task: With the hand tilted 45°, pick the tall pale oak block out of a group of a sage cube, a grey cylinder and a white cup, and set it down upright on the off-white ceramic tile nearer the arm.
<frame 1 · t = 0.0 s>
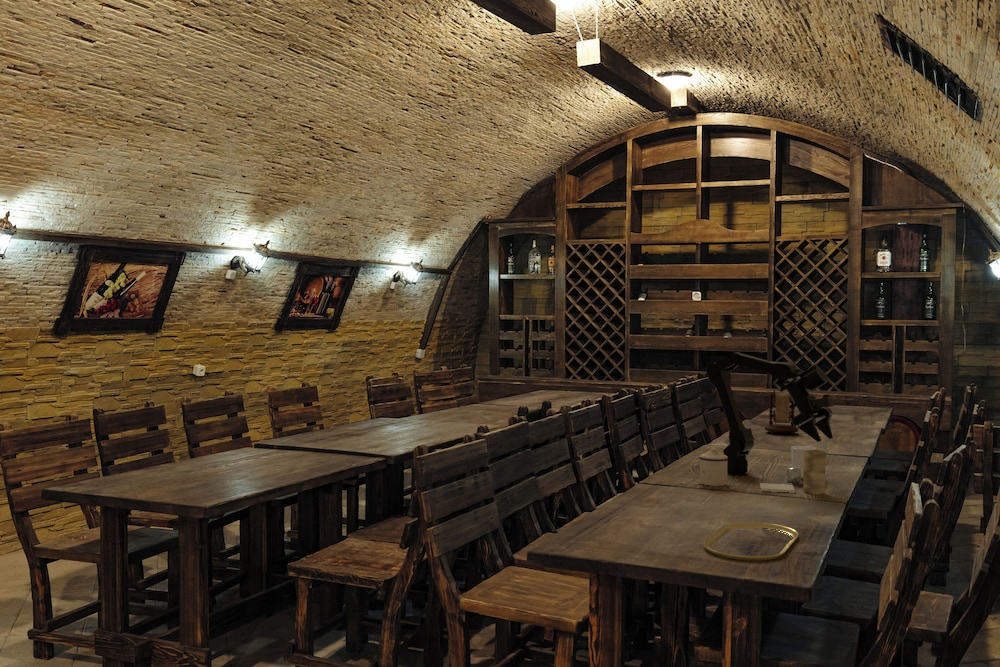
hand: (825, 440, 294), 15 cm above the table, tool tilted 35°, fingers open, 9 cm apart
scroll: (781, 433, 417), on the table
oak block: (814, 492, 284), on the table
grey cylinder: (793, 483, 299), on the table
teacup with lid: (708, 484, 297), on the table
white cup: (802, 477, 311), on the table
sage cube: (812, 484, 298), on the table
tile: (777, 489, 288), on the table
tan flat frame: (752, 545, 223), on the table
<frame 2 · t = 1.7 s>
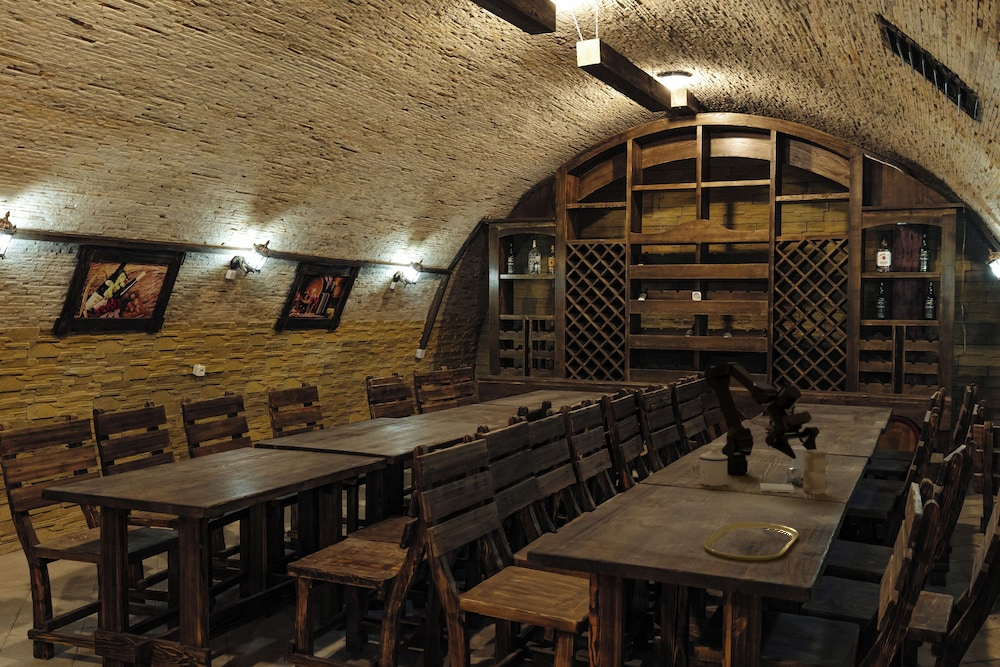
hand: (806, 457, 287), 10 cm above the table, tool tilted 45°, fingers open, 9 cm apart
nothing on the table moved.
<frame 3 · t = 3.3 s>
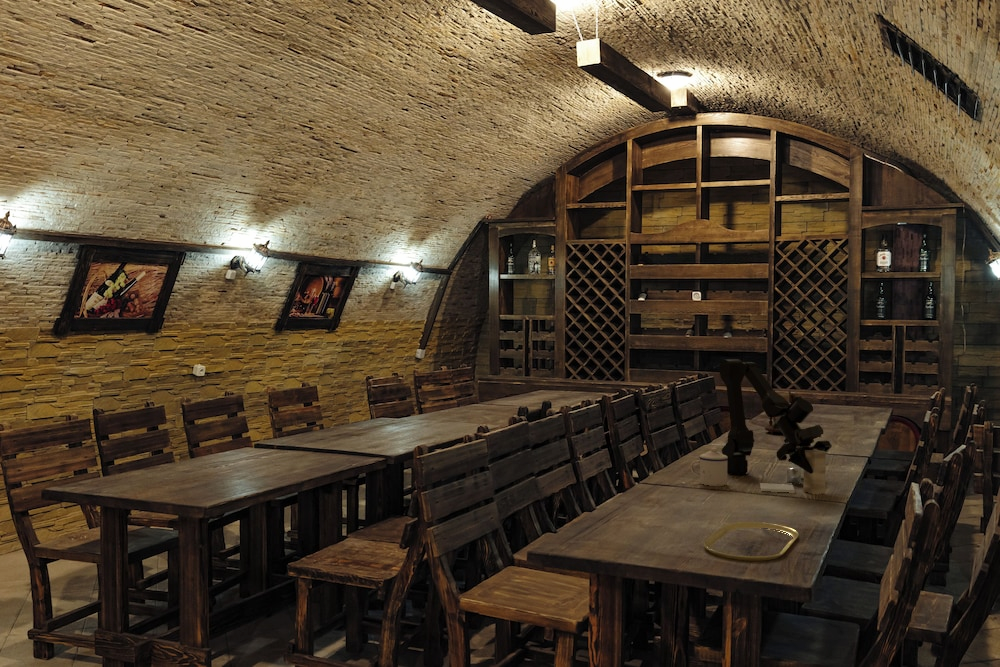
hand: (817, 472, 283), 7 cm above the table, tool tilted 45°, fingers closed on oak block, 4 cm apart
oak block: (814, 492, 284), on the table, touching gripper
everything else where it was.
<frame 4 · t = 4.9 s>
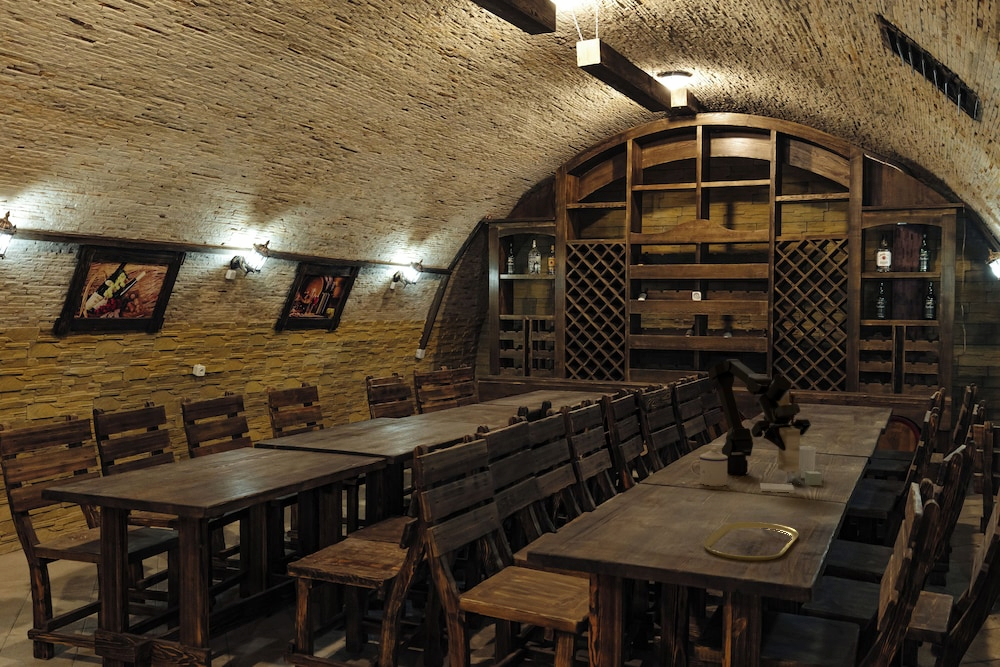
hand: (791, 449, 285), 13 cm above the table, tool tilted 45°, fingers closed on oak block, 4 cm apart
oak block: (788, 469, 287), point 7 cm above the table, touching gripper
everything else where it was.
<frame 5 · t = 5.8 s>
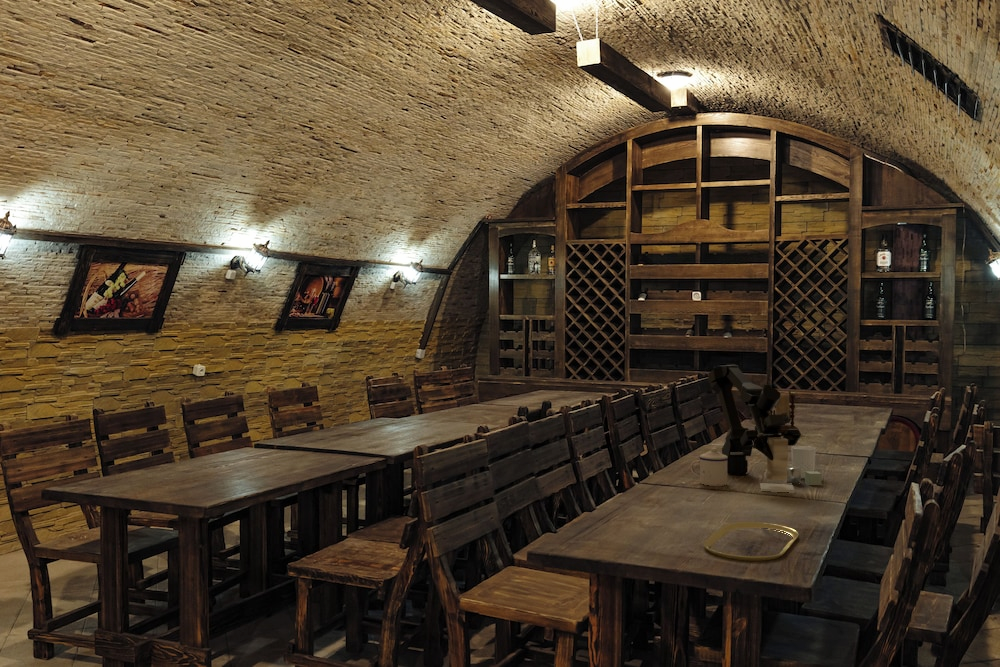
hand: (779, 459, 287), 10 cm above the table, tool tilted 45°, fingers closed on oak block, 4 cm apart
oak block: (776, 479, 288), point 3 cm above the table, touching gripper
everything else where it was.
when the fingers open (9 cm above the table, at t = 6.3 s): oak block drops 1 cm, resting on tile.
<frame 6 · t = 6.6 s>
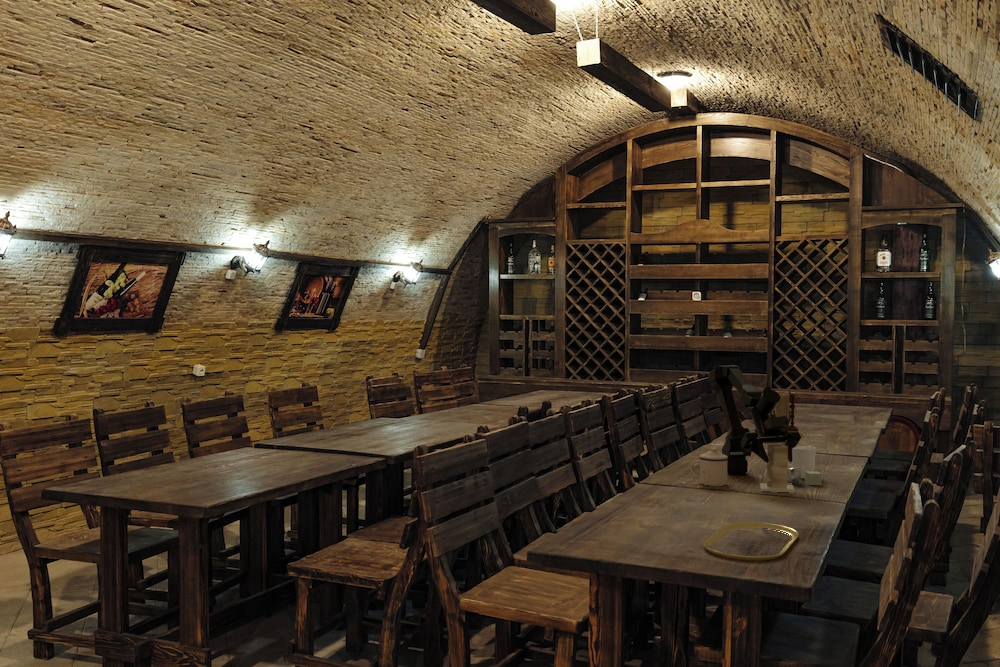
hand: (779, 461, 287), 9 cm above the table, tool tilted 45°, fingers open, 8 cm apart
oak block: (776, 486, 288), point 1 cm above the table, touching tile
everything else where it was.
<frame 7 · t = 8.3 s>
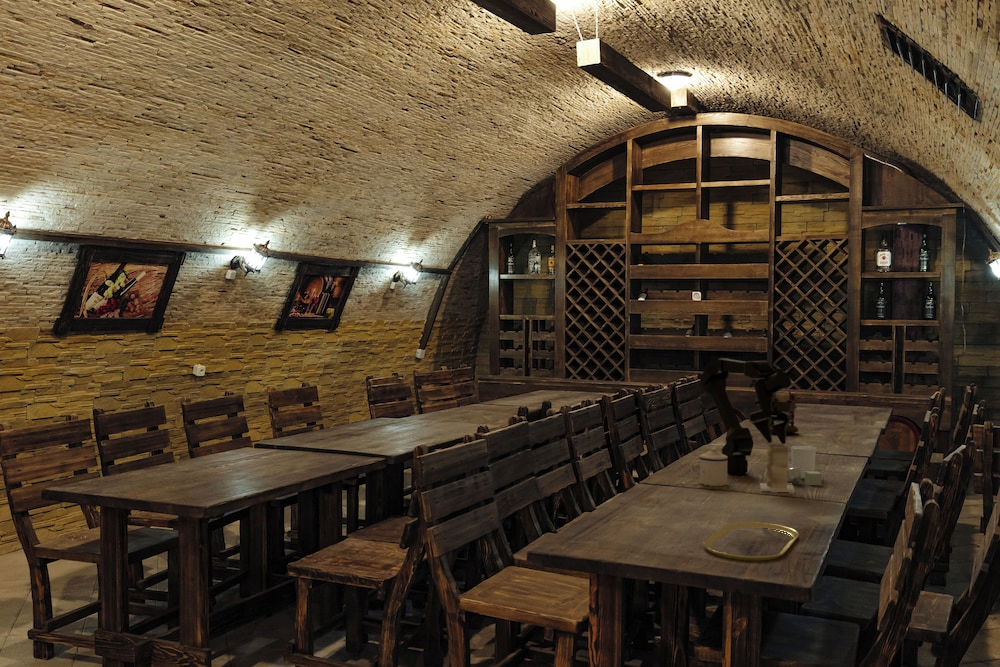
hand: (777, 443, 297), 13 cm above the table, tool tilted 20°, fingers open, 9 cm apart
nothing on the table moved.
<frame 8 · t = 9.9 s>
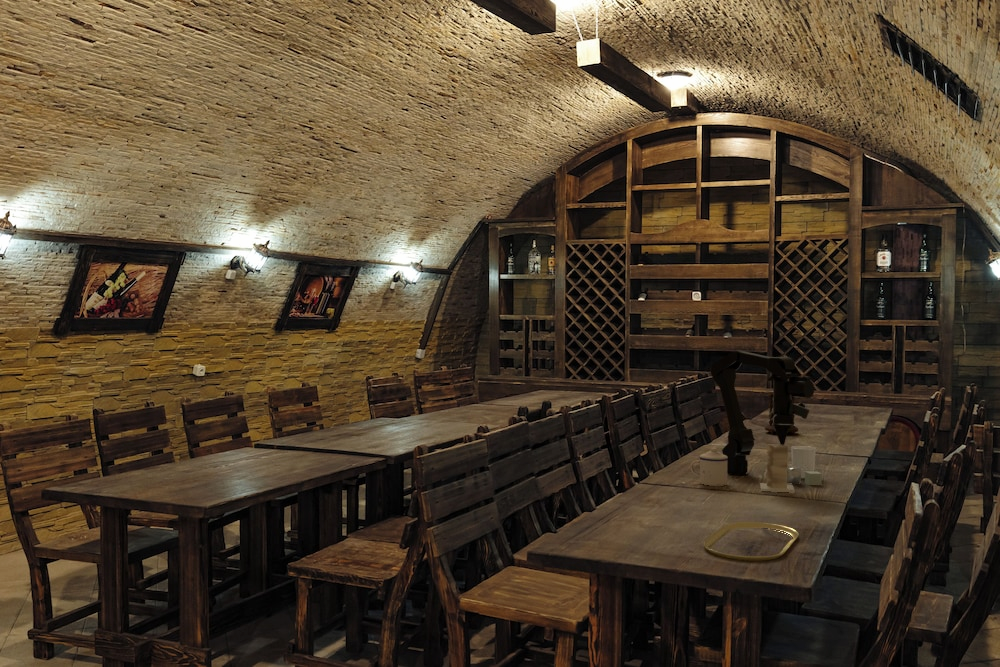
hand: (781, 442, 300), 13 cm above the table, tool pointing down, fingers open, 9 cm apart
nothing on the table moved.
at the end: oak block inside the target area on the tile (0.1 cm from its centre), point 1.0 cm above the tile's base; oak block tilted 0°; the gripper is holding nothing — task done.
